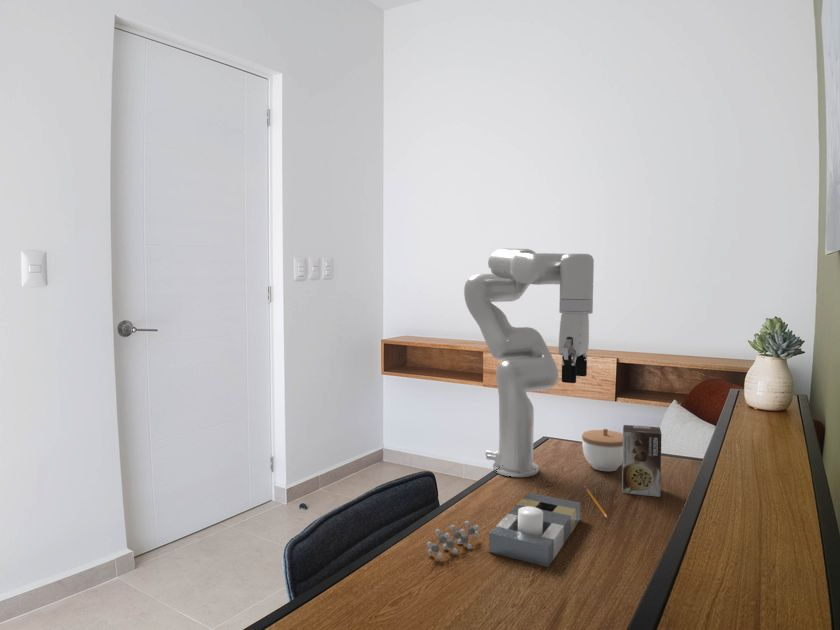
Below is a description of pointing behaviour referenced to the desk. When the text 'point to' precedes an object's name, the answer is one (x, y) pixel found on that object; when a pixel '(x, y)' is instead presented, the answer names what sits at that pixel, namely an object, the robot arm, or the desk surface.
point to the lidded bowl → (603, 449)
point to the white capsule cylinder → (530, 520)
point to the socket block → (533, 548)
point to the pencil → (595, 501)
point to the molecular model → (451, 542)
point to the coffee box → (641, 460)
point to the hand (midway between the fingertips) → (574, 379)
